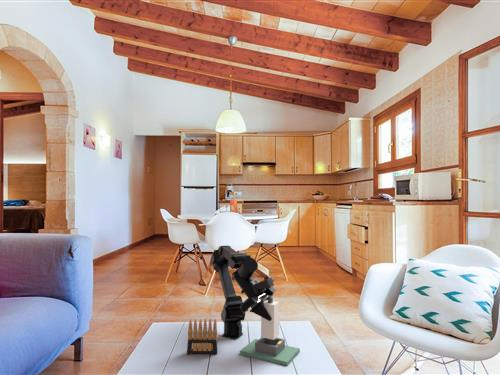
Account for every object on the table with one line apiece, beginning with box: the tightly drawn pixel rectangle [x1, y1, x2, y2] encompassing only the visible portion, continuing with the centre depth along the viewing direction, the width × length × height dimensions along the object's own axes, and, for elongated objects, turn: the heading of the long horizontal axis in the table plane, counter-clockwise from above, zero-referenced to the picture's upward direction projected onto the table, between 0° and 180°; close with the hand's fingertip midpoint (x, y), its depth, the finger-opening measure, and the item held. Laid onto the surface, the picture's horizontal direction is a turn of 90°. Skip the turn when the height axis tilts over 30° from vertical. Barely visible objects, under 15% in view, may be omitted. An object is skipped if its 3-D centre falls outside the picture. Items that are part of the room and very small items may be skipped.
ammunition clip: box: [186, 318, 218, 356], centre depth 117 cm, size 11×2×12 cm, turn 90°
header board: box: [239, 336, 301, 367], centre depth 118 cm, size 18×12×4 cm, turn 62°
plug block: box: [260, 296, 280, 340], centre depth 118 cm, size 5×4×14 cm
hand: (273, 318), depth 118 cm, fingers closed on plug block, 4 cm apart
